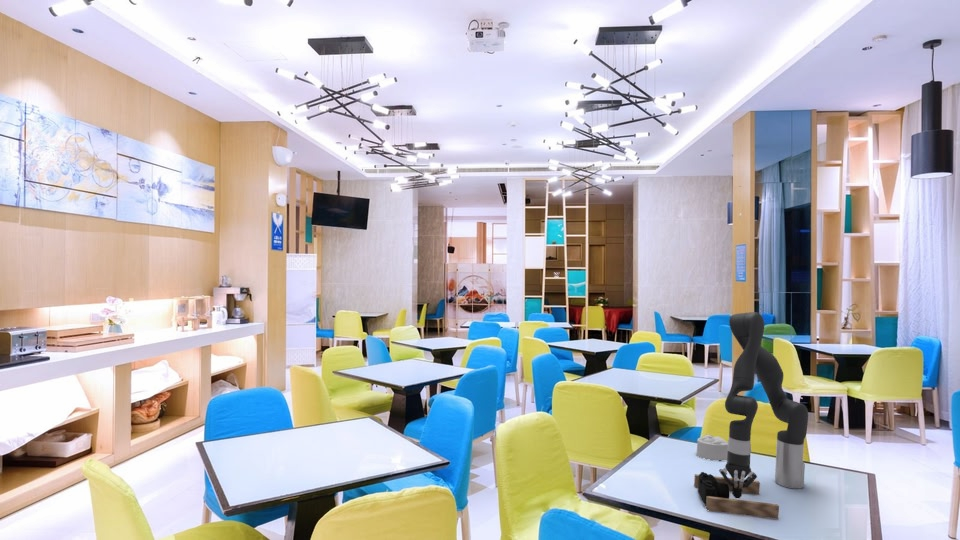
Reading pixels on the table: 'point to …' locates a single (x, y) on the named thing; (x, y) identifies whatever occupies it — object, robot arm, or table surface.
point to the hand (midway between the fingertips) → (736, 497)
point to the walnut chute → (740, 502)
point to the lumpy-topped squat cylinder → (712, 448)
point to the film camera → (711, 487)
